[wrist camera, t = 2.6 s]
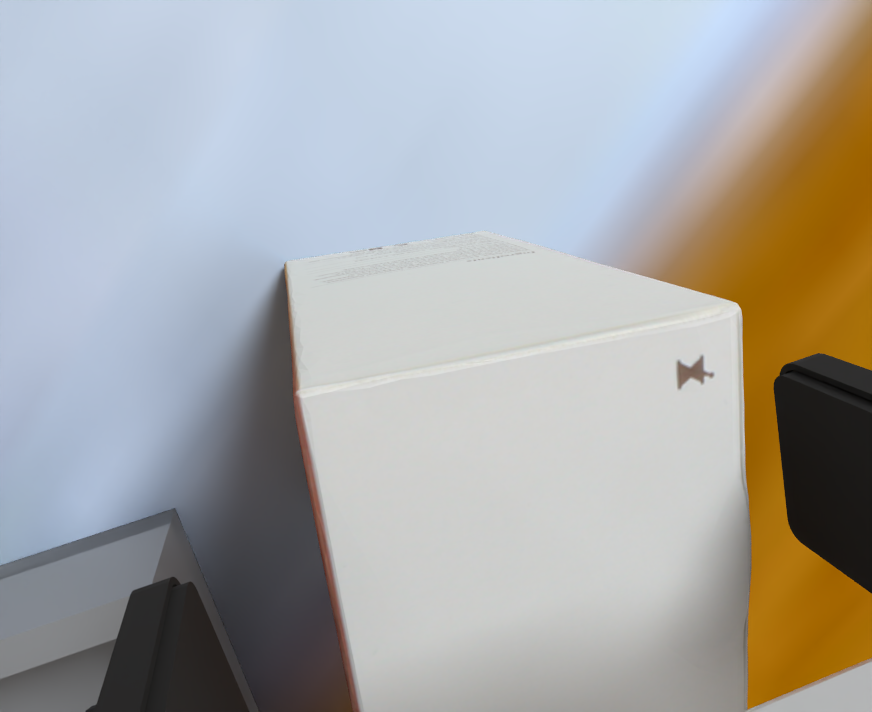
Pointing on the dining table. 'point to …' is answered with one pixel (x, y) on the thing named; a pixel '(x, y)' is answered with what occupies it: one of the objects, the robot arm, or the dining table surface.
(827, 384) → the robot arm
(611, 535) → the small box
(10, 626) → the tray
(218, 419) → the dining table surface
